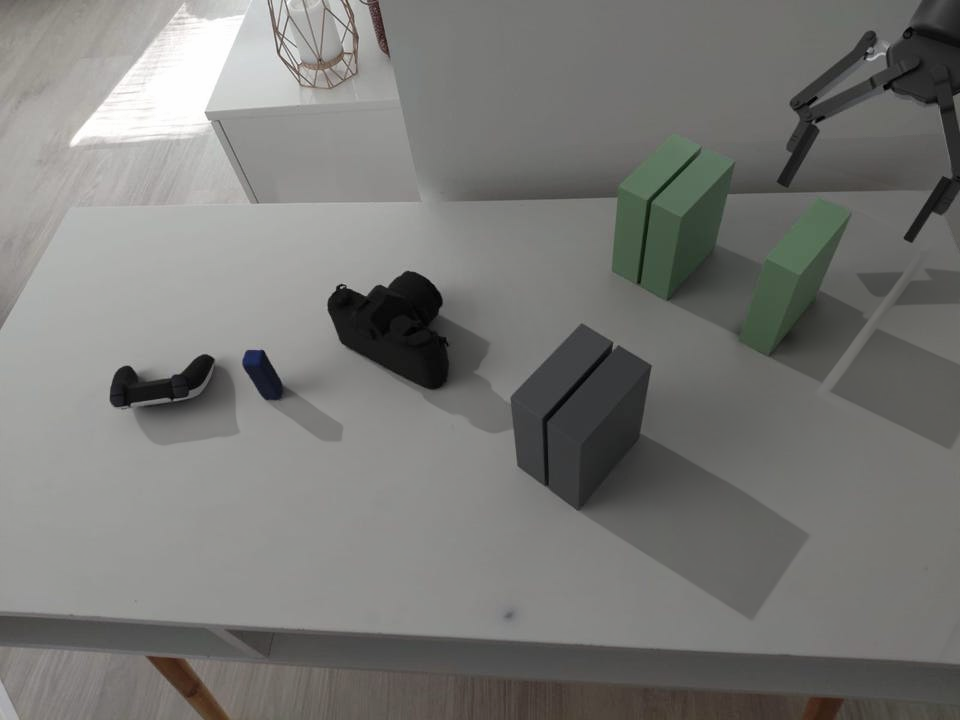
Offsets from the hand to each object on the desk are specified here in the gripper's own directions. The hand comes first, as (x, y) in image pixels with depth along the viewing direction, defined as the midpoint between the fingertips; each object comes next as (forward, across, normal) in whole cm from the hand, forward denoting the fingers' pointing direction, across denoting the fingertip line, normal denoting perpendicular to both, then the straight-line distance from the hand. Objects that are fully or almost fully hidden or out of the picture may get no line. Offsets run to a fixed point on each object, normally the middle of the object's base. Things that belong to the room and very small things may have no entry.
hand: (842, 212), depth 78 cm
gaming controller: (+47, +46, +34) cm, 75 cm away
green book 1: (+13, +17, 0) cm, 21 cm away
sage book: (+13, 0, 0) cm, 13 cm away
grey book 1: (+31, +9, +19) cm, 37 cm away
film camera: (+32, +30, +19) cm, 48 cm away
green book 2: (+13, +13, 0) cm, 18 cm away
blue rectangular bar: (+42, +37, +29) cm, 63 cm away
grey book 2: (+31, +5, +19) cm, 37 cm away
